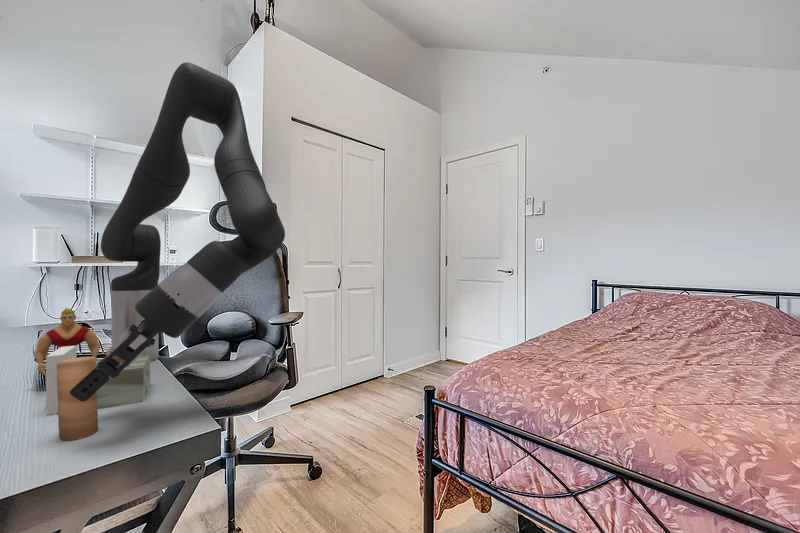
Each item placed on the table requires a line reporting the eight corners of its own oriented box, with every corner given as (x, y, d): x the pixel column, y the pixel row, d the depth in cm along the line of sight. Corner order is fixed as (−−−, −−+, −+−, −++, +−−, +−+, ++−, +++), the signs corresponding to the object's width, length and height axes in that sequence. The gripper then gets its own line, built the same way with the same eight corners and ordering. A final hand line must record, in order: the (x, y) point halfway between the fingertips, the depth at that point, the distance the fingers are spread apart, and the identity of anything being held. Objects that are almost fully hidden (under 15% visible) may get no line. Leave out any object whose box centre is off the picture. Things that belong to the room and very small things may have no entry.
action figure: (32, 393, 66) (31, 310, 66) (35, 388, 69) (34, 308, 69) (100, 382, 72) (99, 306, 72) (100, 378, 75) (99, 305, 75)
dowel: (63, 431, 51) (60, 359, 50) (100, 424, 53) (98, 355, 52) (55, 443, 47) (52, 366, 47) (95, 435, 49) (92, 361, 49)
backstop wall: (61, 398, 63) (61, 346, 63) (76, 396, 64) (76, 345, 64) (46, 414, 56) (45, 356, 56) (63, 412, 57) (63, 354, 57)
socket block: (83, 395, 66) (82, 362, 66) (150, 386, 70) (150, 355, 70) (65, 415, 57) (64, 376, 57) (143, 403, 62) (143, 367, 62)
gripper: (162, 281, 61) (72, 360, 55) (156, 284, 48) (40, 386, 43) (199, 311, 63) (117, 388, 58) (202, 321, 51) (98, 421, 45)
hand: (84, 387), depth 50 cm, fingers open, 8 cm apart
